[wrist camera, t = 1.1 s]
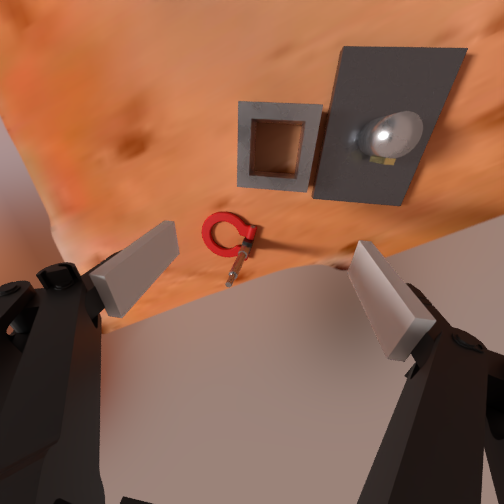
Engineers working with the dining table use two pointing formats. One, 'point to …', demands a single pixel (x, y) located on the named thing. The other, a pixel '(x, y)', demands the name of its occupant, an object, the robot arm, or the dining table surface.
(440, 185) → the dining table surface
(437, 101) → the shaft stand
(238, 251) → the tow hook
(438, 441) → the robot arm
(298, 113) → the collar
